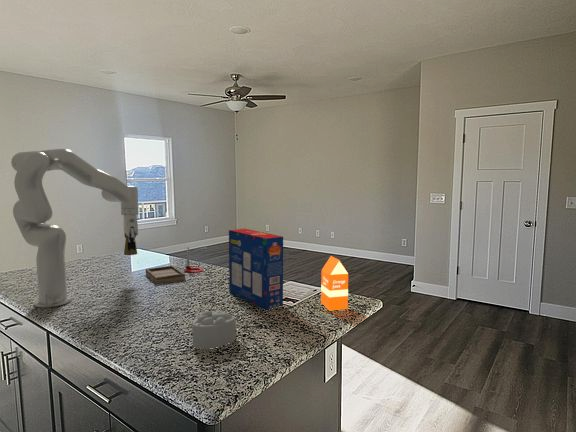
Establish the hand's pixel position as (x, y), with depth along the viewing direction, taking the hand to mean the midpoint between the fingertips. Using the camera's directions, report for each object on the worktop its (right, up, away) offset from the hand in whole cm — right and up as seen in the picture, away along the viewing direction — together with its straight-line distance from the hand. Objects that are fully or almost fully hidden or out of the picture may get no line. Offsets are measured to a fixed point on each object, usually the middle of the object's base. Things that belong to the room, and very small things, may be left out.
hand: (130, 249), depth 177 cm
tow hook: (+25, -14, +22) cm, 36 cm away
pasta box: (+62, -19, -24) cm, 69 cm away
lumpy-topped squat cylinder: (+53, -23, -63) cm, 86 cm away
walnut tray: (+14, -15, +9) cm, 22 cm away
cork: (0, -3, 0) cm, 3 cm away
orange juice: (+94, -20, -34) cm, 102 cm away
